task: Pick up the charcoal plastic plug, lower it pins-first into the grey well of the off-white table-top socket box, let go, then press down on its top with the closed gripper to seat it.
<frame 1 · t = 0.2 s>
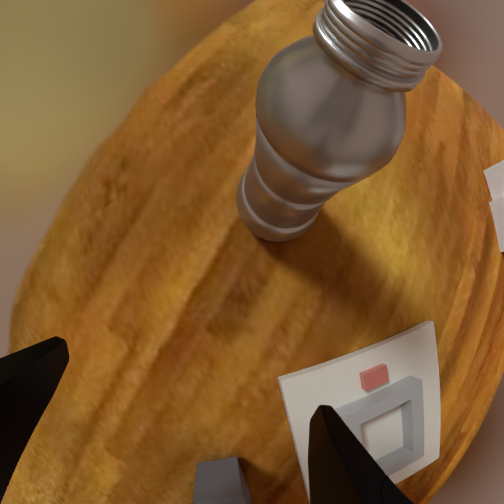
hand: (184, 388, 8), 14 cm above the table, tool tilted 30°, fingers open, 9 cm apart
plug: (224, 475, 21), on the table
socket: (373, 428, 23), on the table
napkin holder: (494, 208, 30), on the table
plastic bottle: (271, 208, 25), on the table
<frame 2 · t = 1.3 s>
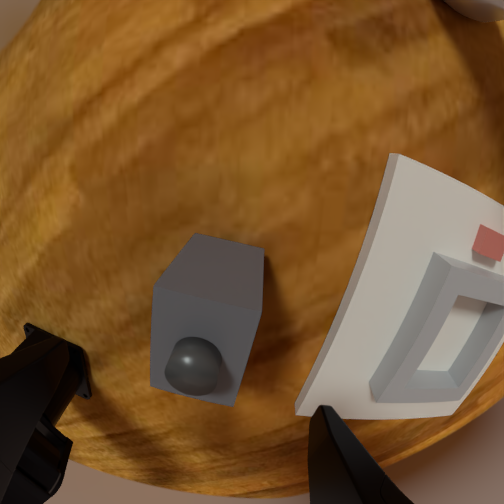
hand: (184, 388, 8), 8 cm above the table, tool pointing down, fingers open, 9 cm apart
plug: (222, 279, 16), on the table
socket: (439, 322, 17), on the table
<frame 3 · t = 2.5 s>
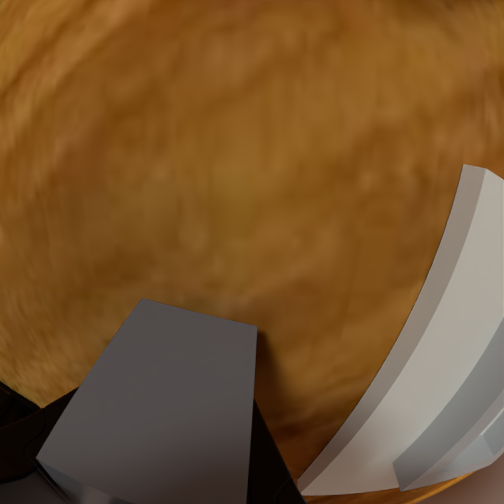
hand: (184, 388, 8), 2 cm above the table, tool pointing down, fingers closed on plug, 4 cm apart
plug: (193, 359, 10), on the table, touching gripper
socket: (484, 386, 10), on the table
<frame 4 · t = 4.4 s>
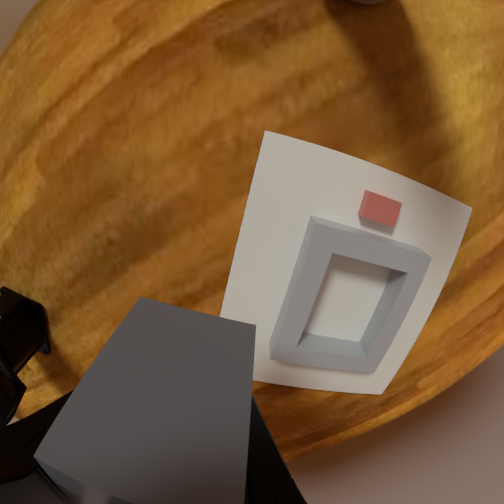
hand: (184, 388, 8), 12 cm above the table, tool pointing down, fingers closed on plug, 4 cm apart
plug: (192, 358, 10), point 10 cm above the table, touching gripper
socket: (340, 289, 20), on the table
when the fingers open (4 cm above the table, at t = 6.3 s): plug drops 1 cm, resting on socket.
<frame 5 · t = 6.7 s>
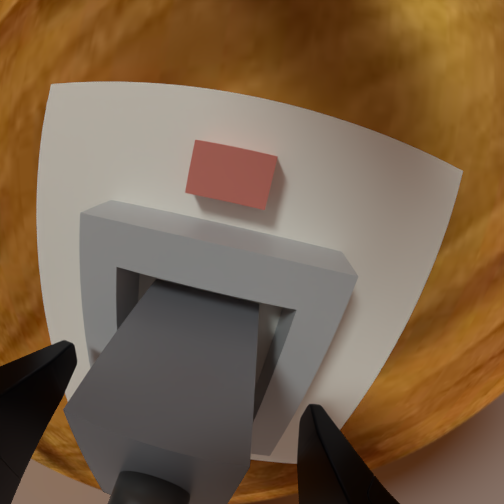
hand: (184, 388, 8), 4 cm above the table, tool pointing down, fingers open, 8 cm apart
plug: (200, 338, 11), point 1 cm above the table, touching socket
socket: (206, 323, 12), on the table
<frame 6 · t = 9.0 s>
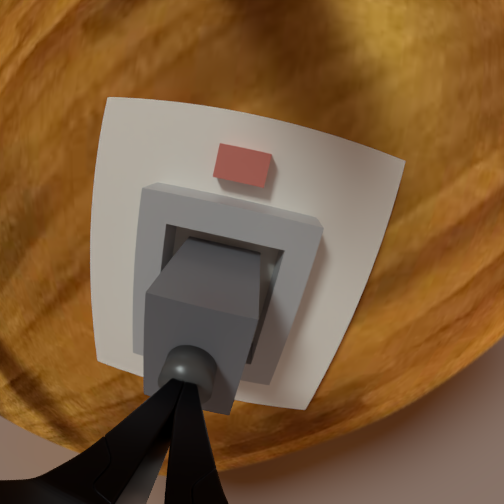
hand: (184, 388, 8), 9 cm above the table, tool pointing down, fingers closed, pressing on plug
plug: (217, 283, 16), point 1 cm above the table, touching gripper, socket
socket: (220, 275, 17), on the table
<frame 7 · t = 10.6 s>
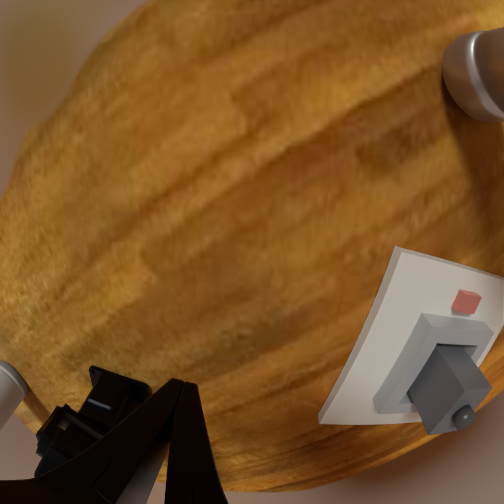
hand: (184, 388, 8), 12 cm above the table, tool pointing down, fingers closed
travel mug: (13, 375, 28), on the table
plug: (431, 361, 21), point 1 cm above the table, touching socket
socket: (426, 354, 22), on the table
plastic bottle: (463, 81, 14), on the table
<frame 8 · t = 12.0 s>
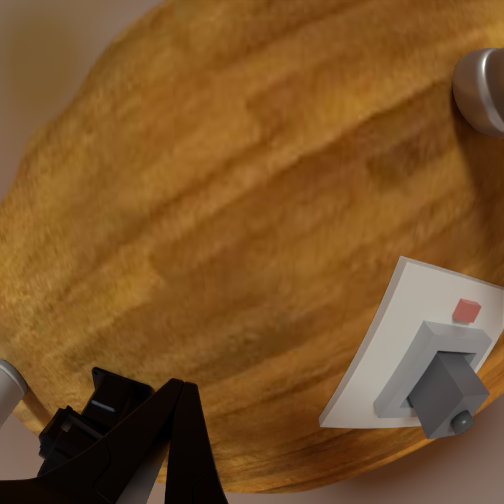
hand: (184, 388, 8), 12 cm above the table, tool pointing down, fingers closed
travel mug: (12, 374, 28), on the table
plug: (430, 367, 21), point 1 cm above the table, touching socket
socket: (426, 360, 22), on the table
plastic bottle: (471, 95, 15), on the table
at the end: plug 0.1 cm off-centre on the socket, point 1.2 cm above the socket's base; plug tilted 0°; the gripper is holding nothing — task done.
